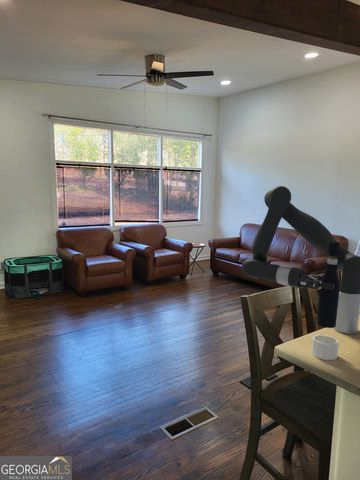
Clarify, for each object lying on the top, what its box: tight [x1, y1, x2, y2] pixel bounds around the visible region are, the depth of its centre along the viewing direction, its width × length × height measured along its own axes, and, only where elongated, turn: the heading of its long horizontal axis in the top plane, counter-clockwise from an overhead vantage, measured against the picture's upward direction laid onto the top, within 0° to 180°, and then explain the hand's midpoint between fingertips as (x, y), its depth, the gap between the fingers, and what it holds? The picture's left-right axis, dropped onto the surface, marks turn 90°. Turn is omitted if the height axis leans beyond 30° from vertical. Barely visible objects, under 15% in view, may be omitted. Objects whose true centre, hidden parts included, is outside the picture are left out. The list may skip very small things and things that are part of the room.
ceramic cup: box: [311, 334, 340, 361], centre depth 125 cm, size 8×8×6 cm
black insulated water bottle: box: [316, 241, 341, 329], centre depth 122 cm, size 6×6×30 cm
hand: (336, 285), depth 120 cm, fingers closed on black insulated water bottle, 6 cm apart
